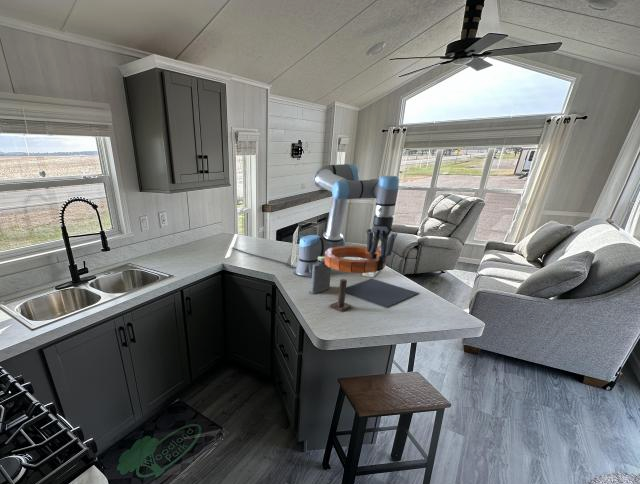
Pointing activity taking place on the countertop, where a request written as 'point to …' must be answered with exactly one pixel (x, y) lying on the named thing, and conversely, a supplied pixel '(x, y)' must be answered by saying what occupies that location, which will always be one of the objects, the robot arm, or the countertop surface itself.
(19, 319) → the countertop surface
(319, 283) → the grey flat box
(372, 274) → the coffeecake box
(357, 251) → the ring
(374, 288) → the mat
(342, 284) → the post
